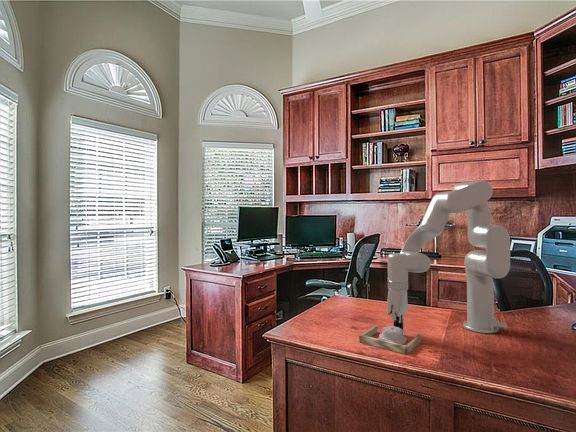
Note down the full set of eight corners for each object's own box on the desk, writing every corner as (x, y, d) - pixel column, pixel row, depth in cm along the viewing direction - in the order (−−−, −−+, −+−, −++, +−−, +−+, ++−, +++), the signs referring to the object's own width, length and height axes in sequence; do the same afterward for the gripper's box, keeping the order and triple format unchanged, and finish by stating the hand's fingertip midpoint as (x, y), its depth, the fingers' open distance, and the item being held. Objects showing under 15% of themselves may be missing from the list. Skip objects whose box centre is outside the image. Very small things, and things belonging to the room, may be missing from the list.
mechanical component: (379, 344, 124) (408, 346, 122) (379, 332, 124) (408, 334, 122) (378, 334, 134) (405, 336, 132) (378, 323, 134) (404, 325, 132)
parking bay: (421, 341, 126) (420, 334, 125) (407, 354, 115) (407, 347, 115) (375, 331, 137) (375, 325, 137) (359, 342, 126) (359, 335, 126)
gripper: (395, 280, 140) (396, 324, 141) (380, 287, 129) (381, 335, 129) (414, 282, 136) (414, 328, 136) (400, 290, 124) (400, 340, 124)
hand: (398, 331), depth 132 cm, fingers closed
